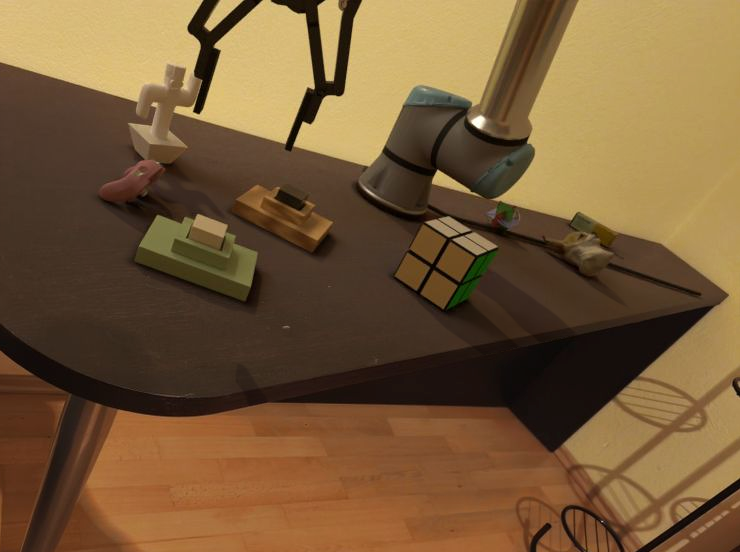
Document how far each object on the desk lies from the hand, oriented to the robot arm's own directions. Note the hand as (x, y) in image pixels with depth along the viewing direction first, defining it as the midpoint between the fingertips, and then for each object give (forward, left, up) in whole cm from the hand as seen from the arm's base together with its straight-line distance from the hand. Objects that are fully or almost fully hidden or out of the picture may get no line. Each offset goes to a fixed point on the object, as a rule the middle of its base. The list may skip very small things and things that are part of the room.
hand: (243, 129), depth 71 cm
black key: (-10, -23, -14) cm, 29 cm away
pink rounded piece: (+12, -12, -18) cm, 25 cm away
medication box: (-95, -94, -18) cm, 135 cm away
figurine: (+13, -30, -18) cm, 37 cm away
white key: (0, 0, -14) cm, 14 cm away
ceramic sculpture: (-78, -63, -18) cm, 102 cm away
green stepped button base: (0, 0, -18) cm, 18 cm away
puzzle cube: (-36, -20, -18) cm, 45 cm away
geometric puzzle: (-59, -65, -18) cm, 90 cm away
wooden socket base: (-10, -23, -18) cm, 31 cm away
